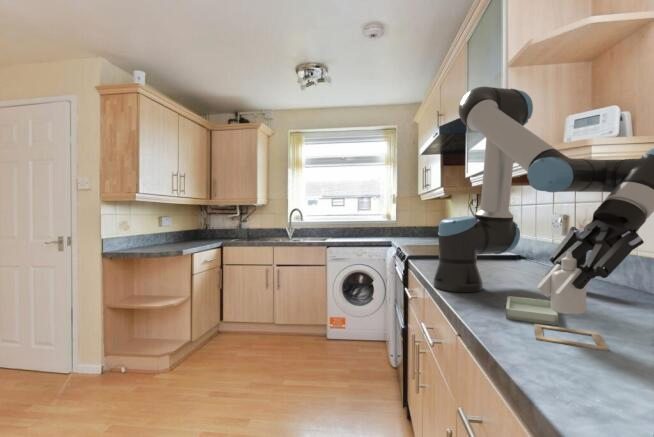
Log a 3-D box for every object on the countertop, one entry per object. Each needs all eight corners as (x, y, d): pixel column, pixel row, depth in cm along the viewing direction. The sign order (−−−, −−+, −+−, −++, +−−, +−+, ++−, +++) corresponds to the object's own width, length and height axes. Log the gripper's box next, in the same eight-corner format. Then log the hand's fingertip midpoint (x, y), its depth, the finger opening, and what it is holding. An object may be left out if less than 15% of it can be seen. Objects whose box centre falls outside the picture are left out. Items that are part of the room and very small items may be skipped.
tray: (505, 318, 75) (505, 308, 75) (507, 304, 87) (507, 296, 87) (558, 325, 70) (558, 315, 70) (552, 309, 81) (552, 300, 81)
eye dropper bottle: (551, 306, 68) (552, 249, 67) (585, 311, 64) (587, 252, 64) (549, 311, 64) (551, 252, 64) (586, 317, 61) (587, 254, 60)
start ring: (535, 339, 63) (535, 337, 63) (534, 325, 71) (534, 323, 71) (608, 351, 58) (608, 349, 58) (598, 334, 65) (598, 332, 65)
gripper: (686, 225, 57) (605, 322, 56) (594, 220, 74) (529, 295, 72) (663, 196, 56) (579, 294, 55) (575, 197, 73) (509, 273, 71)
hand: (551, 294), depth 63 cm, fingers closed on eye dropper bottle, 4 cm apart
